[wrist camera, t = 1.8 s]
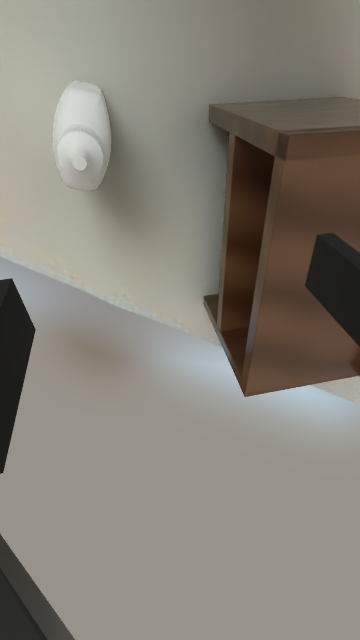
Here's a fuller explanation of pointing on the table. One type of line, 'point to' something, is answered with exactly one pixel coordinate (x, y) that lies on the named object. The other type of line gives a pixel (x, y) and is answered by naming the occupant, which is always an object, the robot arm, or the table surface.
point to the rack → (284, 238)
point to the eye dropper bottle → (82, 136)
